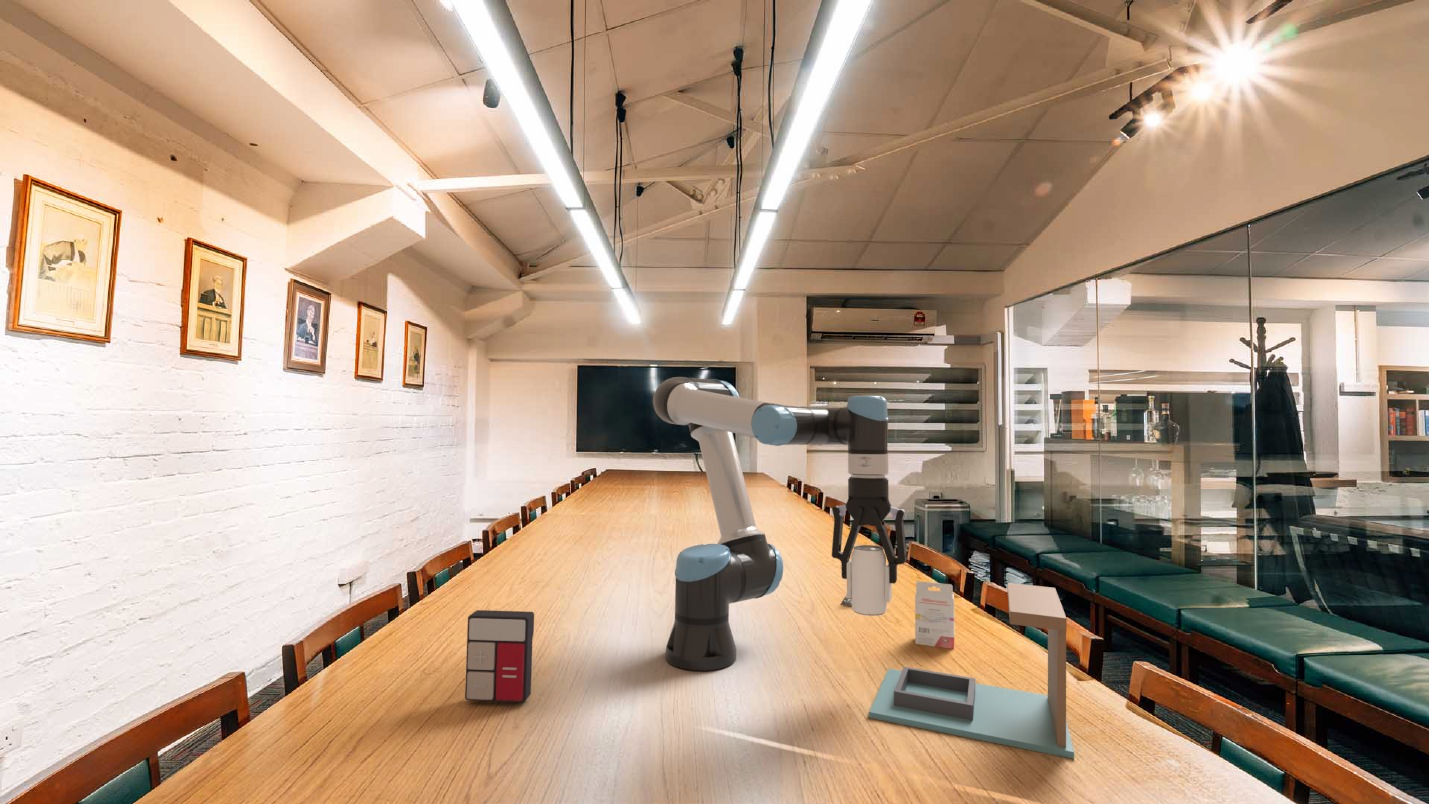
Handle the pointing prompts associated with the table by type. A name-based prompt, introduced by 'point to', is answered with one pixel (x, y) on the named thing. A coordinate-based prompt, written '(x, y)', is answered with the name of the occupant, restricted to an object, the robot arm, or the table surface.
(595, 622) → the table surface
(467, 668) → the calculator
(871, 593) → the can
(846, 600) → the house of cards
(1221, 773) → the table surface
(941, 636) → the ink cartridge box
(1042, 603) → the socket stand
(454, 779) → the table surface
